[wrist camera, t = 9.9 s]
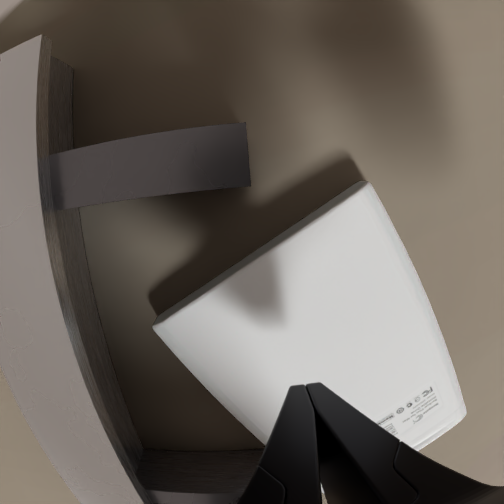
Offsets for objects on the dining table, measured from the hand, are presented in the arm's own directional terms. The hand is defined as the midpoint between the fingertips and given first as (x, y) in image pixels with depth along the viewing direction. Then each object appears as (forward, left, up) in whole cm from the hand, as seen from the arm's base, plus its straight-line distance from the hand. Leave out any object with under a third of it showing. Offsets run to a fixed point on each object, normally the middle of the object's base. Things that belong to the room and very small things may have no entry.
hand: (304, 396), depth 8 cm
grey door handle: (0, +5, -3) cm, 6 cm away
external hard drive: (-2, -2, -4) cm, 5 cm away
